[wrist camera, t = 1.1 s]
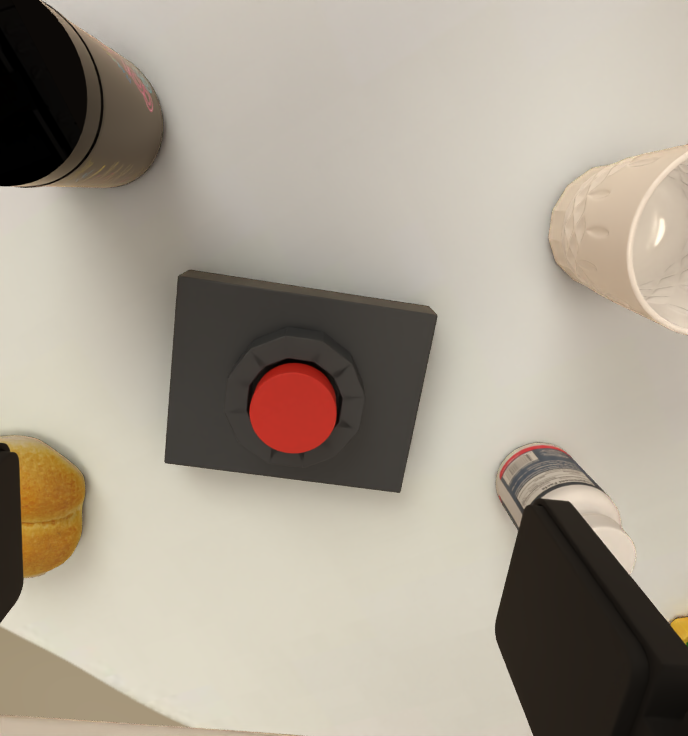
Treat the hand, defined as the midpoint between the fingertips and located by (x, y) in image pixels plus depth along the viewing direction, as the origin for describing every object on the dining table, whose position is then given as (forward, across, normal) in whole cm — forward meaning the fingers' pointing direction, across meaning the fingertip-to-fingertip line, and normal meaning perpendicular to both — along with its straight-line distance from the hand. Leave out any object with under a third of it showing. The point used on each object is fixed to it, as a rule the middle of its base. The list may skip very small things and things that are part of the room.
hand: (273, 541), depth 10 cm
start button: (+19, 0, +4) cm, 20 cm away
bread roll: (+24, +16, +14) cm, 32 cm away
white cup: (+24, -16, -7) cm, 29 cm away
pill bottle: (+24, -16, +9) cm, 30 cm away
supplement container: (+24, +12, -8) cm, 28 cm away
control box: (+23, 0, +4) cm, 24 cm away
